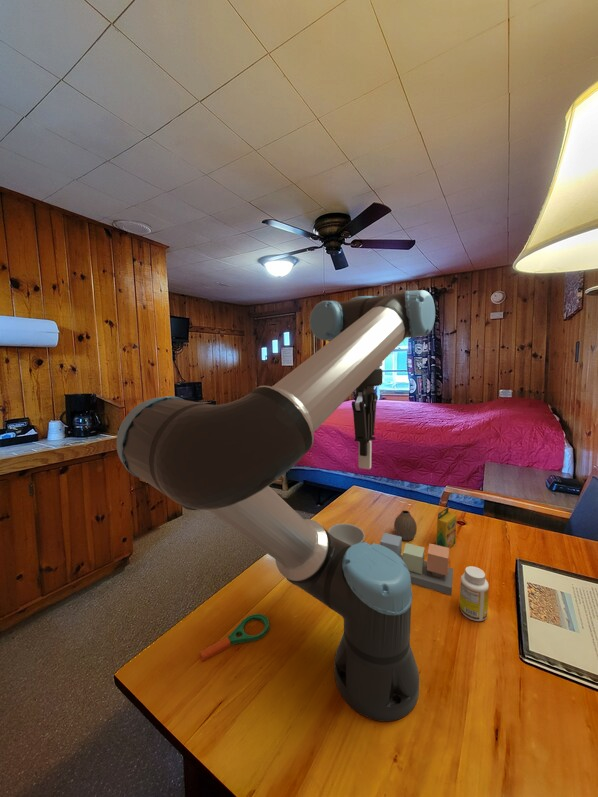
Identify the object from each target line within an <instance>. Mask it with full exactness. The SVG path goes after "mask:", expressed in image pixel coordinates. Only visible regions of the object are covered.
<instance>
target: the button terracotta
mask: <svg viewBox="0 0 598 797" xmlns="http://www.w3.org/2000/svg"><path fill="white" fill-rule="evenodd" d="M426 556H427V557H426V558H427V560H426V562H427V570H428V571H432V572H435V573H439V574H443V575H446V576H448V567H449V562H450V549H449V548H447V547H443V546H439V545H436V544H434V543H429V544H428V550H427V555H426Z"/></svg>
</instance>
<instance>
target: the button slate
mask: <svg viewBox="0 0 598 797" xmlns="http://www.w3.org/2000/svg"><path fill="white" fill-rule="evenodd" d="M379 542H380V543H379V545H382V546H384V547H386V548H388V549H390V550H392V551H393V552H395V553H396V554H397V555H398V556H399V557H400V555H402V543H403V540H402V537H400V536H397V535H396V534H391V533H386V532H384V533H383V535H382V537H381V540H380V541H379Z"/></svg>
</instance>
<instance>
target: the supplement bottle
mask: <svg viewBox="0 0 598 797" xmlns="http://www.w3.org/2000/svg"><path fill="white" fill-rule="evenodd" d="M489 586H490V585H489V582H488V580H487V579H486V573H485V571H484V570H482V569H481V568H479V567H478V566H473V565H471V566H470V565H469V566H466V567H465V570H464V573H463V574H461V577H460V587H459V609H460V611H461V613H462V614H463V616H465V617H466V618H467V619H469V620H471V621H474V622H482V621H484V620H487V617H488V609H489V608H488V606H489V604H488V603H489V592H490V591H489V590H490V589H489Z"/></svg>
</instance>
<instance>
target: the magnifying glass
mask: <svg viewBox="0 0 598 797" xmlns="http://www.w3.org/2000/svg"><path fill="white" fill-rule="evenodd" d="M251 621H260V622H262V623H263V625H264V628H263V630H262V631H261V632H260V633H257V634H256V635H255V634H254V635H253V634H252V635H250V634H248V633H246V632H245V630H244V629H245V626H246V625H247V624H248V623H249V622H251ZM269 629H270V622H269V618H268V617H267V616H266V615H265V614H260V613H254V614H251V615H248V616H246V617H244V619H243V620H241V622H240V623H239V624H238V625H237V626H236V627H235V629H234V630H233V631H232V632H231V633H230V634H229V635H228V636H226V637H224V638H223V639H221V640H219V641H217V642H215V643H212V644H211V645H209V646H207V647H205V648H203V649H201V650H199V658H200V659H201V662H204V661H206V660H208V659H209V658H212V657H213V656H215V655H218V654H219V653H220V652H222V651H224V650H226V649H228V648H230V647H231V646H233V645H236V644H237V645H238V644H244V643H248V642H255V641H258V640H260V639H262V638H263V637H264V636H266V634H268V631H269ZM239 635H241V636H239Z"/></svg>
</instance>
